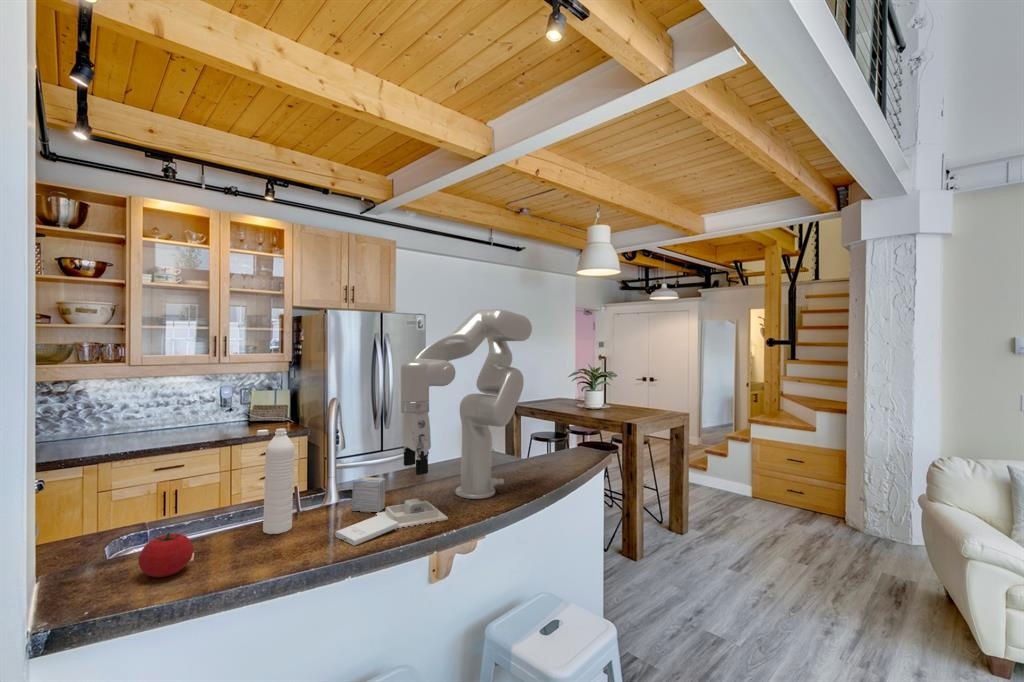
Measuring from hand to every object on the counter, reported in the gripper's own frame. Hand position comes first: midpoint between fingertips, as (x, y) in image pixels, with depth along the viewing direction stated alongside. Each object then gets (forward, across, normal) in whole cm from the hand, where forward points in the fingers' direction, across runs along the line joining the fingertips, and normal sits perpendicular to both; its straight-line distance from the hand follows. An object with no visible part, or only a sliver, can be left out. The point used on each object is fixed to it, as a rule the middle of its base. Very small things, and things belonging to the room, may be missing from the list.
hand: (415, 469), depth 127 cm
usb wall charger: (+12, -1, +1) cm, 12 cm away
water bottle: (+12, +6, +34) cm, 37 cm away
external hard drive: (+12, -6, +15) cm, 20 cm away
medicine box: (+13, +10, +10) cm, 19 cm away
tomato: (+10, -8, +54) cm, 56 cm away
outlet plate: (+13, -1, +2) cm, 13 cm away
